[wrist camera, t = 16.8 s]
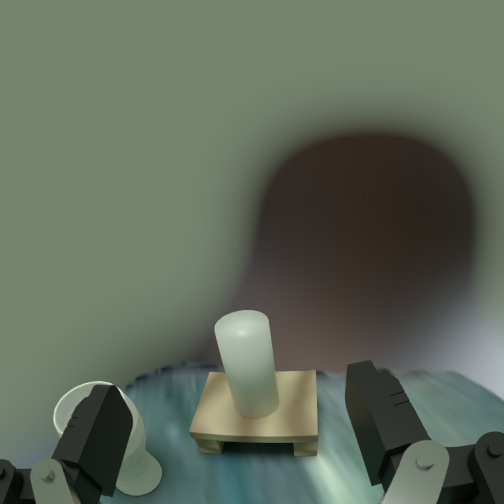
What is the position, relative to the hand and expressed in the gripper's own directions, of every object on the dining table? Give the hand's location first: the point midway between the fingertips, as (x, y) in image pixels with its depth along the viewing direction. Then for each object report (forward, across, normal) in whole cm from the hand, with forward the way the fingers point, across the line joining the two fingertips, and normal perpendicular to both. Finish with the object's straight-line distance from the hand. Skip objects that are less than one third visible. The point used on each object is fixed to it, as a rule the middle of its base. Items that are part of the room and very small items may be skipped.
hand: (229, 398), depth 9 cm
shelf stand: (+21, +1, +30) cm, 37 cm away
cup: (+12, +19, +30) cm, 38 cm away
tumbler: (+21, +1, +24) cm, 32 cm away
